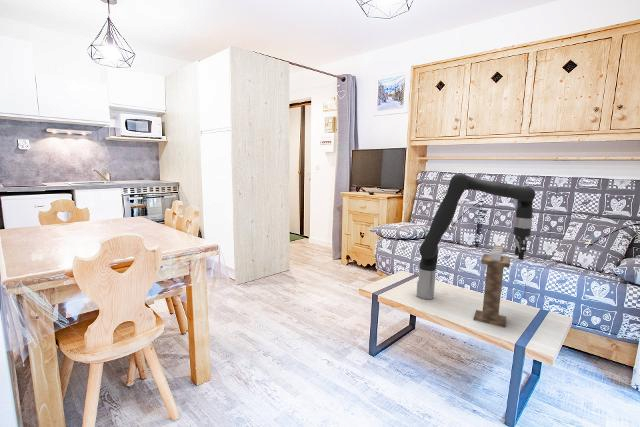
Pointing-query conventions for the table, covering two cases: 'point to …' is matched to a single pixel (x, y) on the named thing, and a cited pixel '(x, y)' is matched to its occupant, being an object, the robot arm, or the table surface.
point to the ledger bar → (496, 253)
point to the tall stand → (492, 291)
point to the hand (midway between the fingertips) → (518, 257)
